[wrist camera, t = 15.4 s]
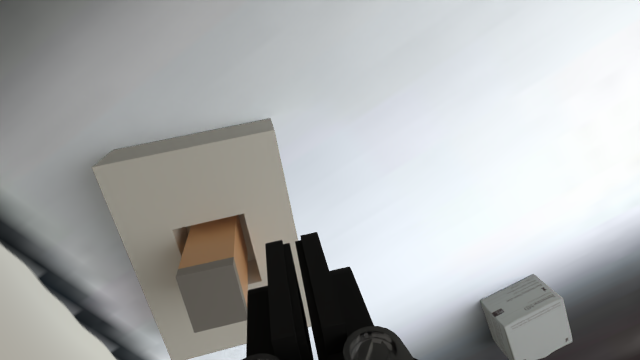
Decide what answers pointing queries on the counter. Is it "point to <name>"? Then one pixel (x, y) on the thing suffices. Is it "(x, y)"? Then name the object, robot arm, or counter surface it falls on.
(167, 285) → the socket plate
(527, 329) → the small box
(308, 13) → the counter surface
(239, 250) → the two-tone square block
